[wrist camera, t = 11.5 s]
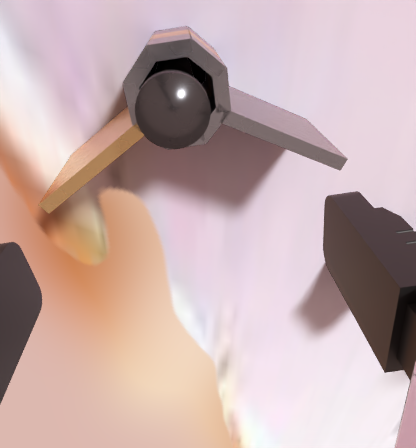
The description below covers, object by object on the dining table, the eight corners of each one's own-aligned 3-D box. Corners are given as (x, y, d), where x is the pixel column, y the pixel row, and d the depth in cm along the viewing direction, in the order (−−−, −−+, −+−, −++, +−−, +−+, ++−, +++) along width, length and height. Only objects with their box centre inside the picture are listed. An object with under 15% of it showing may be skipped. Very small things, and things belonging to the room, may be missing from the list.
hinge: (36, 49, 32) (-19, 70, 23) (307, 7, 32) (357, 13, 23) (74, 162, 38) (42, 214, 29) (306, 127, 38) (346, 169, 29)
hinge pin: (144, 48, 33) (126, 79, 21) (194, 40, 33) (205, 67, 21) (155, 99, 35) (143, 153, 23) (201, 92, 35) (215, 143, 23)
